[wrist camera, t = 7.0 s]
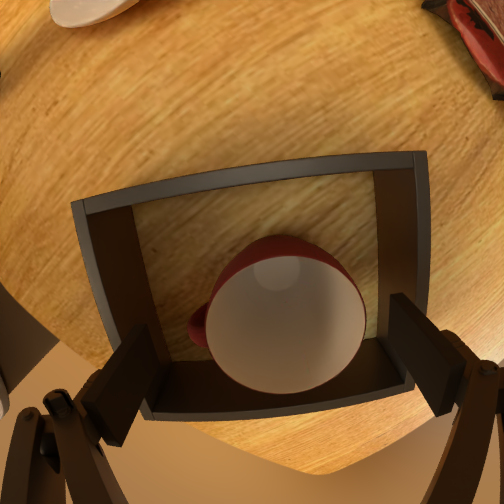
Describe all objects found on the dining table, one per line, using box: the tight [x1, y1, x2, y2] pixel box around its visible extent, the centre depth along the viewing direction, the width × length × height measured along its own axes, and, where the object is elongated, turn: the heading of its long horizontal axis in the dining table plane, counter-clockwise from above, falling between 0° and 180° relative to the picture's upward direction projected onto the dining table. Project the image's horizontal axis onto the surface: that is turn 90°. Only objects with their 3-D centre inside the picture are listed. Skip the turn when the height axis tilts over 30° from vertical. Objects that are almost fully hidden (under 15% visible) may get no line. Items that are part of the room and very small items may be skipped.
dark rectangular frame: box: [71, 151, 431, 422], centre depth 21 cm, size 21×17×7 cm
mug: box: [187, 235, 367, 394], centre depth 19 cm, size 10×8×10 cm
